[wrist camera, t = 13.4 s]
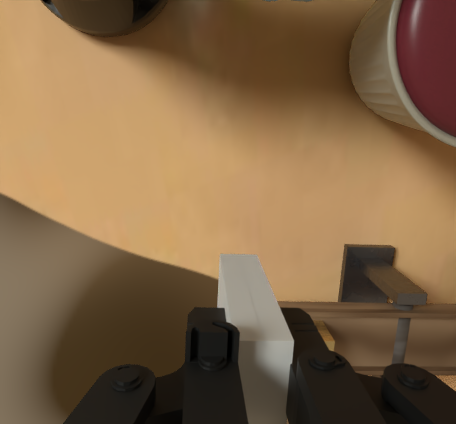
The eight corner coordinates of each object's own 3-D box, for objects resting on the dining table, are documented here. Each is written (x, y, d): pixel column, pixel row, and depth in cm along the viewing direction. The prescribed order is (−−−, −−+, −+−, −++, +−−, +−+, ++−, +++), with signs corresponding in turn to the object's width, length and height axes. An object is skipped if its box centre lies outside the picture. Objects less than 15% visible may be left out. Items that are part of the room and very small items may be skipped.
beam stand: (344, 244, 51) (385, 279, 40) (390, 245, 52) (444, 280, 41) (332, 345, 54) (367, 404, 43) (376, 345, 55) (422, 404, 44)
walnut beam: (229, 295, 42) (233, 322, 36) (557, 300, 45) (608, 326, 39) (225, 364, 44) (229, 401, 38) (541, 365, 47) (587, 399, 41)
